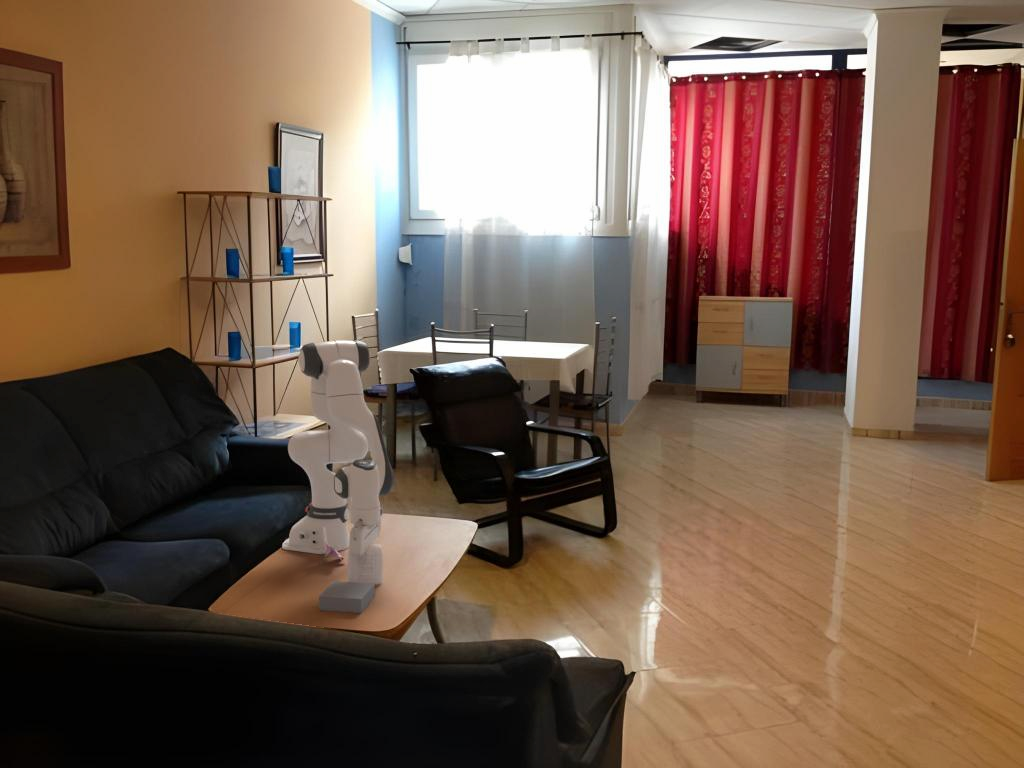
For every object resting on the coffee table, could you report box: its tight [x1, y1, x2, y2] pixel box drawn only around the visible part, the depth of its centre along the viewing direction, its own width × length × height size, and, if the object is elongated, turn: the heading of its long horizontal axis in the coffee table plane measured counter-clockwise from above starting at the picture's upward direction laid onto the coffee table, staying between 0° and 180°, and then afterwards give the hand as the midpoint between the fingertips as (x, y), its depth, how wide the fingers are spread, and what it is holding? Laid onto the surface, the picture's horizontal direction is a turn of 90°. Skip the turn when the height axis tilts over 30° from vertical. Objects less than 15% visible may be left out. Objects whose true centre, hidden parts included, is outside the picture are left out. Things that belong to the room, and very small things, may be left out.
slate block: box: [318, 580, 376, 614], centre depth 255 cm, size 12×12×4 cm
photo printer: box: [347, 543, 384, 586], centre depth 270 cm, size 10×4×12 cm, turn 103°
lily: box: [320, 534, 346, 565], centre depth 287 cm, size 12×12×10 cm
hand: (365, 560), depth 270 cm, fingers closed on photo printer, 5 cm apart
